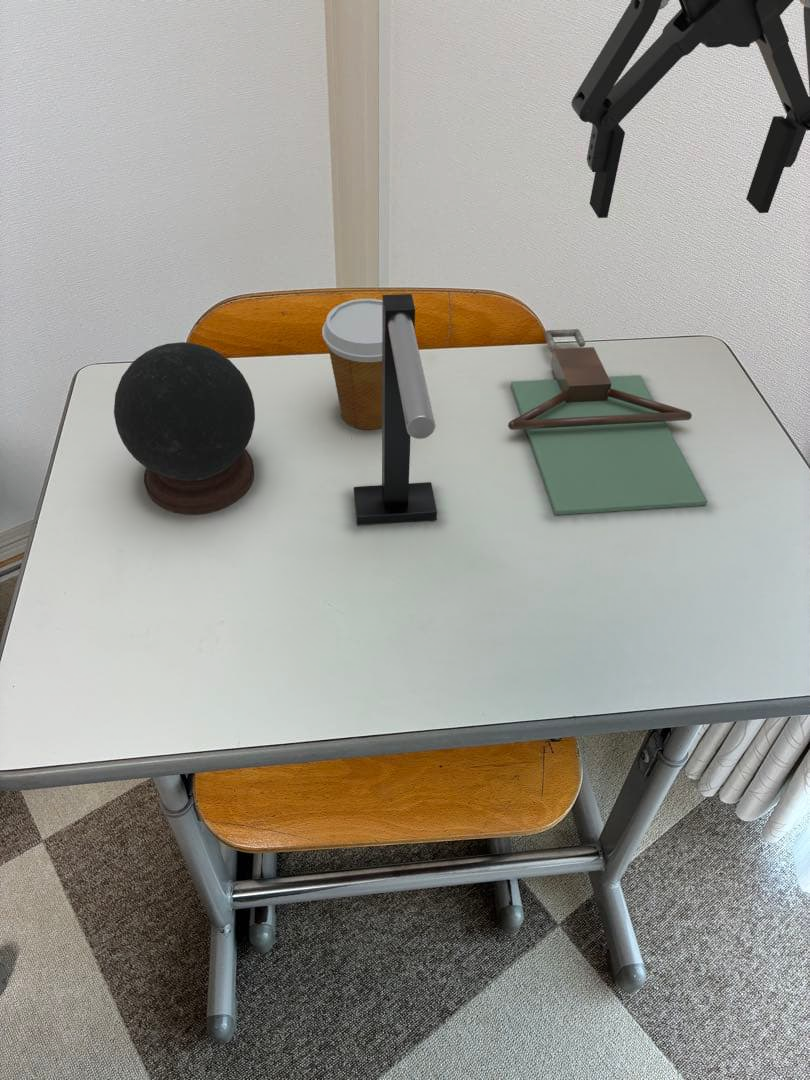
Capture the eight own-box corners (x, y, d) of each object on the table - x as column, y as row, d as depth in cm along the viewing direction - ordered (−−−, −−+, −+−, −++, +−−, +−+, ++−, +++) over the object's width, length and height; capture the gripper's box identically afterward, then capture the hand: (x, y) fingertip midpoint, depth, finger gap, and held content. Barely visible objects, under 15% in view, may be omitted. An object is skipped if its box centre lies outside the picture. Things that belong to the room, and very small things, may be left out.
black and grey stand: (430, 490, 83) (443, 285, 66) (455, 617, 71) (479, 411, 54) (353, 494, 82) (347, 289, 65) (367, 624, 71) (363, 417, 54)
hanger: (690, 426, 90) (639, 336, 102) (696, 409, 88) (643, 319, 101) (507, 437, 88) (478, 343, 100) (510, 419, 86) (480, 326, 99)
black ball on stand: (131, 448, 86) (94, 326, 75) (252, 427, 89) (234, 307, 78) (140, 533, 78) (101, 409, 67) (274, 507, 80) (257, 384, 70)
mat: (510, 385, 96) (511, 381, 95) (639, 379, 97) (640, 374, 97) (554, 515, 81) (555, 511, 80) (706, 505, 82) (707, 501, 82)
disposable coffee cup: (375, 377, 96) (375, 287, 87) (427, 417, 91) (432, 324, 82) (310, 408, 92) (303, 315, 83) (361, 450, 87) (358, 357, 78)
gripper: (920, -131, 54) (801, 185, 69) (561, -135, 52) (520, 192, 67) (987, -114, 49) (842, 224, 64) (592, -117, 47) (540, 233, 62)
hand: (678, 208), depth 66 cm, fingers open, 13 cm apart
